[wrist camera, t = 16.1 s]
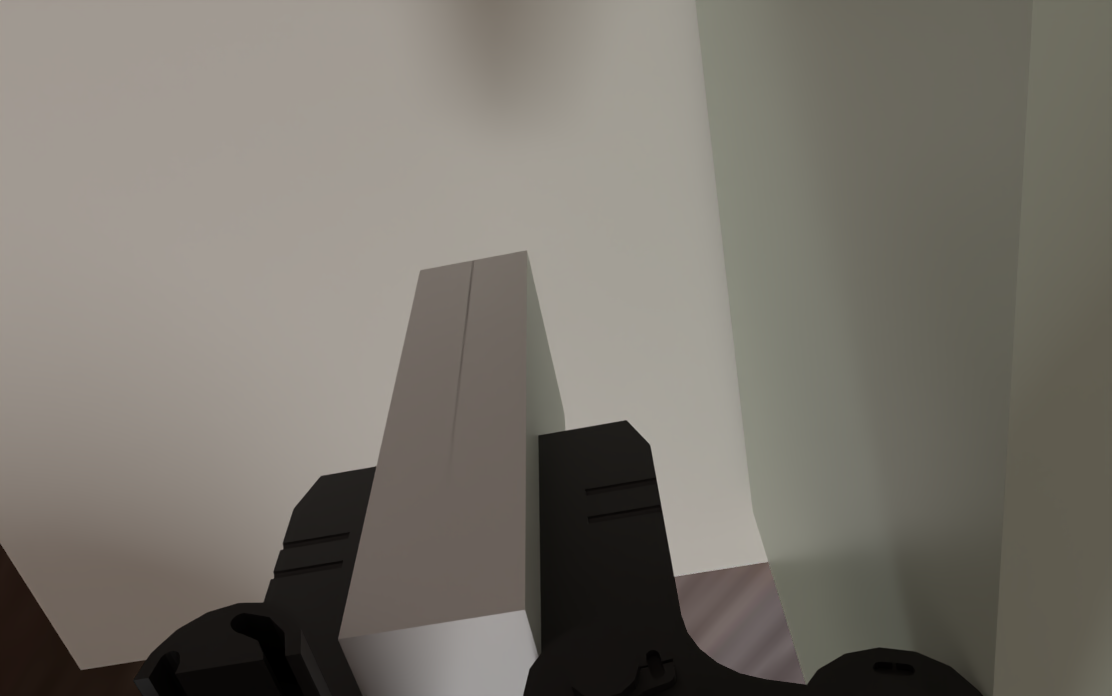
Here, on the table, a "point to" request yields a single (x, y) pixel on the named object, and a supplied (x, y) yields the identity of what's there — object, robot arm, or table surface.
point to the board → (330, 269)
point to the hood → (925, 323)
